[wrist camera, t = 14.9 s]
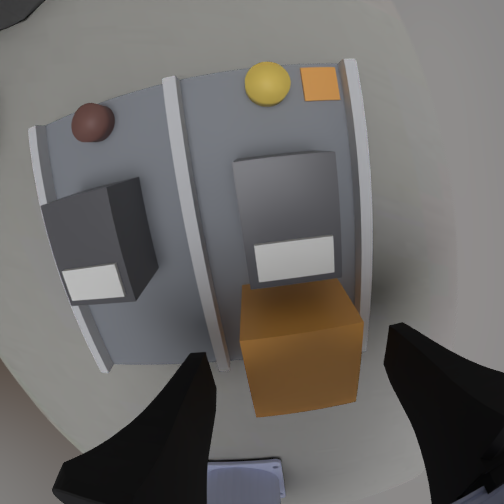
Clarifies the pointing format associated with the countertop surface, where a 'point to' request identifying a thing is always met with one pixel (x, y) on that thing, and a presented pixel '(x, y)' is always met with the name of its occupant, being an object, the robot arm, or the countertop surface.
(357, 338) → the block
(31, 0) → the coffeepot
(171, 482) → the robot arm
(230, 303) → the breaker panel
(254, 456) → the countertop surface
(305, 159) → the toggle
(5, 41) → the countertop surface
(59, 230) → the toggle
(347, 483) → the countertop surface
